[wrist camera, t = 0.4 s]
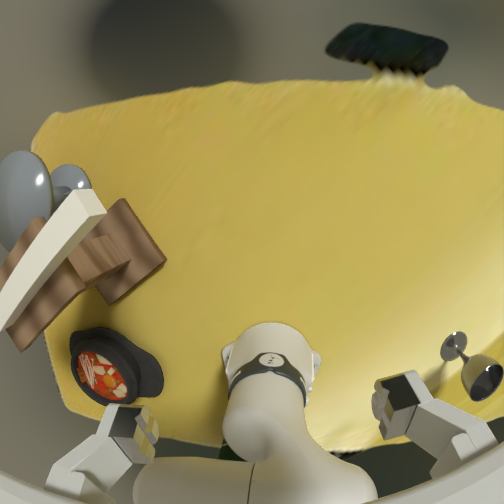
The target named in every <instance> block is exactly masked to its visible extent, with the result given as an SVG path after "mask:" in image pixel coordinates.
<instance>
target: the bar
mask: <svg viewBox="0 0 504 504" xmlns="http://www.w3.org/2000/svg"><path fill="white" fill-rule="evenodd" d="M106 214H107V212H106V210H105V209H104V207H103V205H102V204H101V202H100V201H99V199H98V197H97V196H96V194H95V193H94V191H93V189H77V190H73V191H72V192H71V193H70V194H69V195H68V197H67V198H66V199H65V200H64V201H63V203H62V204H61V205H60V206H59V208H58V209H57V210H56V211H55V213H54V214H53V215H52V217H51V218H50V219H49V220H48V222H47V223H46V224H45V226H44V227H43V228H42V230H41V231H40V232H39V234H38V235H37V237H36V238H35V239H34V241H33V242H32V244H31V245H30V246H29V248H28V249H27V251H26V252H25V254H24V255H23V257H22V258H21V260H20V261H19V263H18V264H17V266H16V267H15V269H14V271H13V272H12V274H11V275H10V277H9V279H8V280H7V282H6V284H5V285H4V287H3V289H2V290H1V292H0V332H1V331H2V330H4V329H6V328H8V327H10V326H11V325H13V324H14V323H15V322H16V320H17V319H18V317H19V316H20V315H21V313H22V312H23V311H24V309H25V308H26V307H27V305H28V304H29V303H30V301H31V300H32V299H33V297H34V296H35V295H36V293H37V292H38V291H39V290H40V288H41V287H42V286H43V285H44V283H45V282H46V281H47V280H48V278H49V277H50V276H51V275H52V274H53V272H54V271H55V270H56V269H57V268H58V267H59V265H60V264H61V263H62V262H63V261H64V260H65V258H66V257H67V256H68V255H69V254H70V253H71V252H72V250H73V249H74V248H75V247H76V246H77V245H78V244H79V243H80V242H81V240H82V239H83V238H84V237H85V236H86V235H87V234H88V233H89V232H90V231H91V230H92V229H93V228H94V227H95V226H96V224H97V223H98V222H99V221H100V220H101V219H102V218H103V217H104V216H105V215H106Z"/></svg>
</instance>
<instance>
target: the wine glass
mask: <svg viewBox="0 0 504 504" xmlns="http://www.w3.org/2000/svg"><path fill="white" fill-rule="evenodd" d="M466 346H467V336H466V335H465V333H463V332H455V333H453V334H451V335H450V336H449V337H447V339H446V340H445V341H444V343H443V344H442V347H441V357H442V358H443V359H444V360H445V361H452V360H455V359H457V358H458V357H459V356H460V357H461V358H462V360H463V367H462V370H461V381H462V384H463V387H464V389H465V391H466V392H467V394H468V395H469V397H470V398H471V399H472V400H473V401H476V402H478V401H482V400H484V399H486V398H488V397H489V396H490V395H492V394H493V393H494V392H495V391H496V389H497V388H498V387H499V385H500V383H501V381H502V379H503V374H504V370H503V368H502V366H501V365H500V364H499V363H498V362H497V361H496V360H494V359H493V358H491V357H490V356H487V355H485V354H476V355H473V356H471V357H468V356H466V355H465V354H464V353H463V352H464V350H465V348H466Z"/></svg>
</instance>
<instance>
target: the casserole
mask: <svg viewBox="0 0 504 504" xmlns="http://www.w3.org/2000/svg"><path fill="white" fill-rule="evenodd" d="M70 352H71V356H72V358H71V369H72V373H73V376H74V378H75V380H76V382H77V383H78V385H79V386H80V388H81V389H82V390H83V391H84V392H85V393H86V394H87V395H88V396H89V397H90V398H91V399H93V400H94V401H96V402H97V403H99V404H101V405H104V406H108V405H109V404H110V403H115V404H128V405H129V404H131V403H132V402H134V401H135V399H136V398H137V397H156V396H158V395H159V394H160V393H161V391H162V388H163V383H164V378H163V372H162V369H161V367H160V365H159V363H158V361H157V360H156V359H155V358H154V356H153V355H151V354H150V353H148V352H146V351H144V350H143V349H141V348H139V347H137V346H136V345H135V344H133V343H132V342H131V341H130V340H128V339H127V338H126V337H124V336H123V335H121V334H120V333H118V332H116V331H114V330H111V329H108V328H103V327H99V328H93V329H90V330H87V331H77V332H74V333H72V334H71V337H70Z"/></svg>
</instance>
